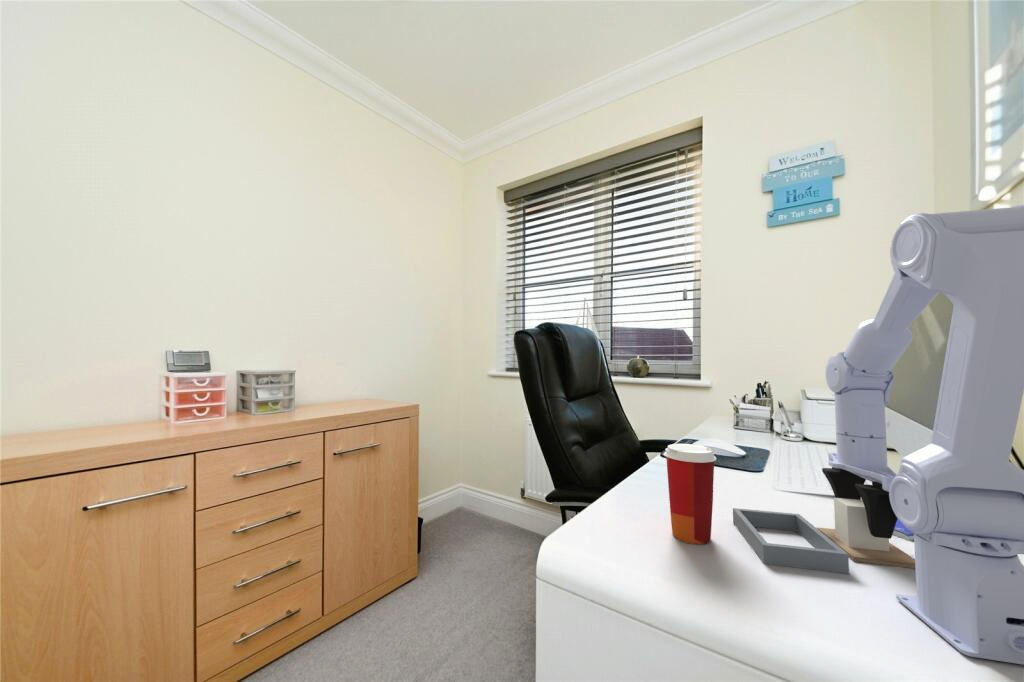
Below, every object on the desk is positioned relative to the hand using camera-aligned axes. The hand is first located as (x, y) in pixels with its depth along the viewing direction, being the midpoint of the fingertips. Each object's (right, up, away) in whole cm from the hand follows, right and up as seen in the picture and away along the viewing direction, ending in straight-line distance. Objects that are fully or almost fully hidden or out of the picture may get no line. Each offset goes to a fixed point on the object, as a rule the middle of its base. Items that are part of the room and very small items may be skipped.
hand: (864, 525), depth 58 cm
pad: (0, -3, 0) cm, 3 cm away
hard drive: (+14, -5, +8) cm, 17 cm away
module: (0, -3, 0) cm, 3 cm away
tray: (-12, -3, +1) cm, 12 cm away
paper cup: (-25, -4, +3) cm, 25 cm away
